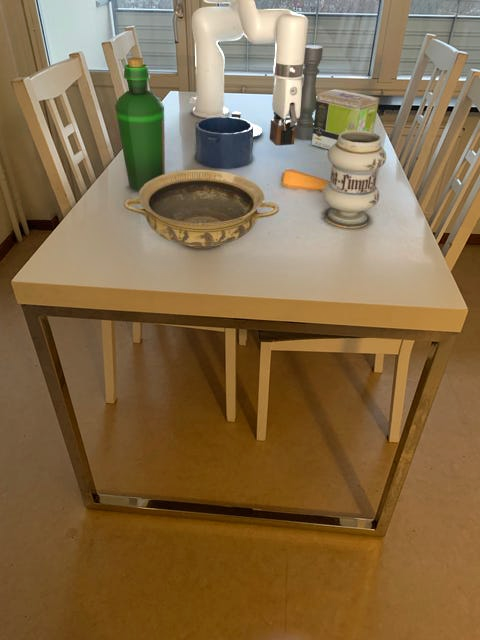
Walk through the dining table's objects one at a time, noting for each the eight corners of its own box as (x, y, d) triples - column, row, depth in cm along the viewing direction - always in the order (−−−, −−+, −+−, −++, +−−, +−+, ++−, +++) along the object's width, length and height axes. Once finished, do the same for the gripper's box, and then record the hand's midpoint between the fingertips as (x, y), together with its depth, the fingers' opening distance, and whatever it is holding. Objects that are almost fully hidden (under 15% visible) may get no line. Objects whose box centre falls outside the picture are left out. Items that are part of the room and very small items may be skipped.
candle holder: (313, 133, 155) (323, 45, 140) (313, 139, 150) (324, 49, 135) (293, 132, 155) (302, 44, 140) (293, 138, 150) (302, 47, 135)
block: (269, 139, 138) (271, 119, 135) (287, 137, 140) (289, 118, 136) (276, 145, 134) (277, 125, 131) (294, 144, 136) (296, 124, 132)
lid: (201, 138, 148) (201, 117, 145) (219, 123, 161) (219, 103, 157) (254, 144, 145) (255, 123, 141) (267, 129, 158) (268, 109, 154)
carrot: (279, 190, 121) (281, 176, 117) (282, 177, 123) (284, 163, 119) (358, 205, 119) (363, 192, 115) (360, 192, 121) (365, 179, 117)
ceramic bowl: (116, 268, 89) (108, 218, 83) (139, 211, 108) (134, 167, 101) (279, 273, 89) (283, 224, 83) (273, 215, 108) (277, 171, 102)
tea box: (370, 150, 144) (381, 97, 135) (352, 158, 138) (361, 103, 129) (329, 138, 152) (336, 87, 143) (310, 145, 146) (316, 92, 137)
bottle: (176, 182, 121) (169, 57, 104) (157, 198, 113) (146, 66, 96) (138, 175, 123) (125, 52, 106) (116, 191, 116) (99, 60, 98)
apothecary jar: (316, 205, 112) (327, 125, 101) (368, 207, 112) (384, 127, 101) (322, 229, 103) (334, 144, 92) (378, 231, 103) (397, 147, 92)
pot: (184, 167, 129) (182, 132, 123) (210, 143, 145) (209, 111, 139) (240, 175, 126) (241, 140, 120) (260, 149, 142) (261, 117, 136)
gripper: (314, 77, 120) (305, 150, 131) (290, 62, 132) (283, 130, 144) (286, 78, 118) (279, 152, 129) (264, 63, 131) (259, 131, 142)
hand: (282, 139), depth 137 cm, fingers closed on block, 5 cm apart
